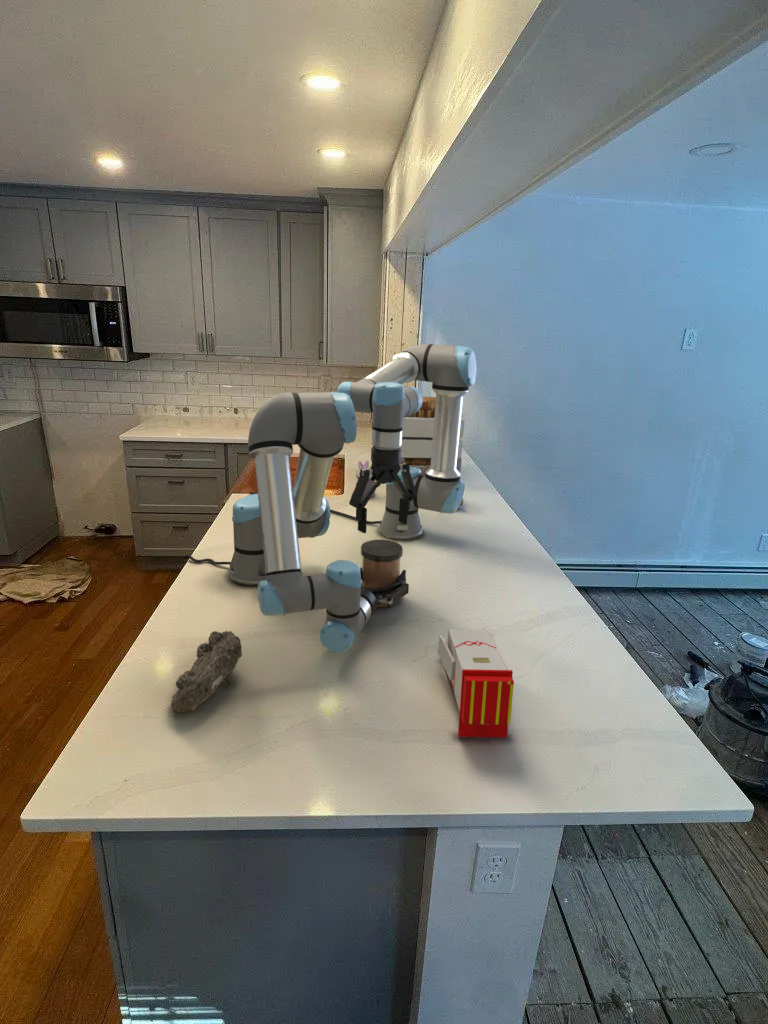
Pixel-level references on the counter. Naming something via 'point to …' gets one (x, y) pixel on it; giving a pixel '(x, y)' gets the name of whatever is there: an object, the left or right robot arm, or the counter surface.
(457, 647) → the toy
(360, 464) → the figurine
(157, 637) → the counter surface
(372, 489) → the right robot arm
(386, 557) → the lid
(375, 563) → the jar
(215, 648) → the fossil
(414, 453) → the white crate
